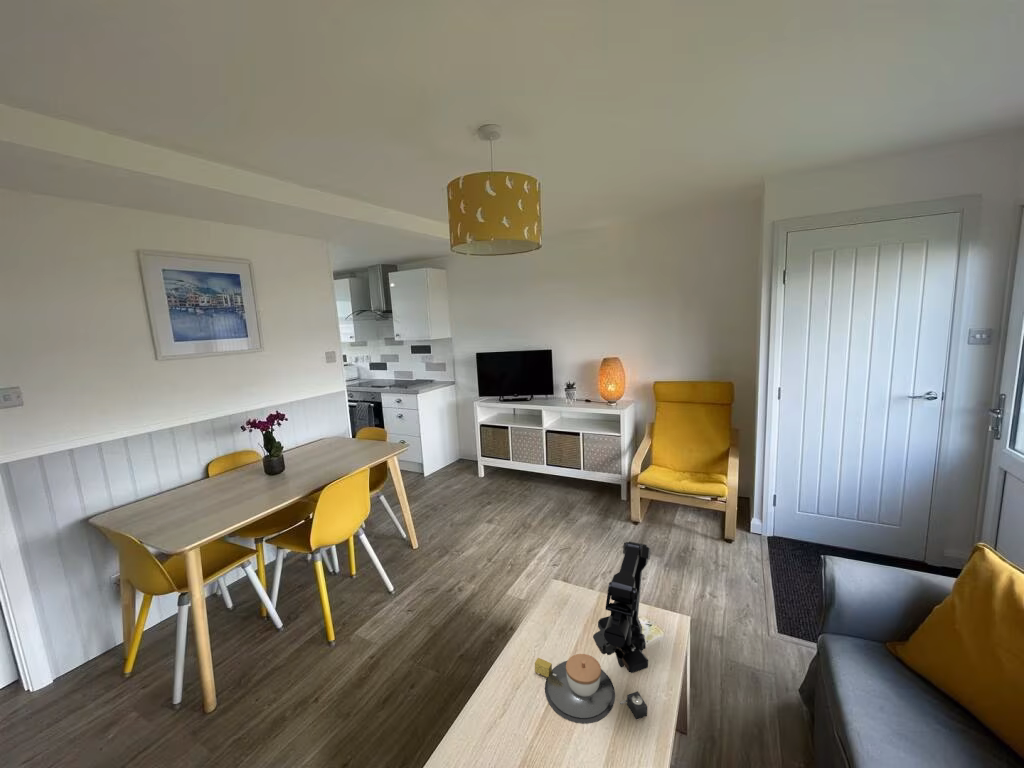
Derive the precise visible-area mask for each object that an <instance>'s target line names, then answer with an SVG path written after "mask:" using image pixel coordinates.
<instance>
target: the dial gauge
mask: <svg viewBox="0 0 1024 768" xmlns="http://www.w3.org/2000/svg"><path fill="white" fill-rule="evenodd" d="M619 704H620V705H623V704H626V706H627V707H628V709H629V710H630V712H631V714H632V716H633V717H634V718H635V720H636V721H637V720H640V719H643V718H645V717H648V705H647V703H646V702H645V700H644V699H643V697H642V696H641V694H640V693H639V691H635V692H631V693H627V694H626V699H624V700H621V701H620V702H619Z"/></svg>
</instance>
